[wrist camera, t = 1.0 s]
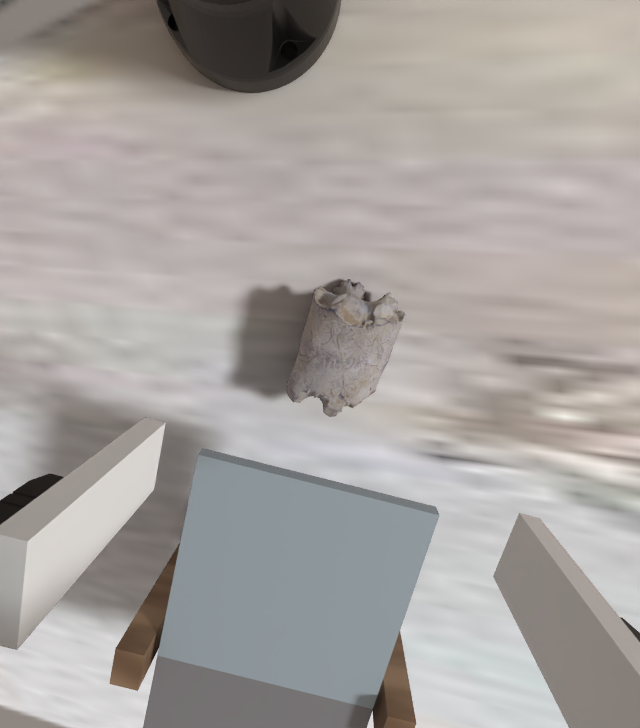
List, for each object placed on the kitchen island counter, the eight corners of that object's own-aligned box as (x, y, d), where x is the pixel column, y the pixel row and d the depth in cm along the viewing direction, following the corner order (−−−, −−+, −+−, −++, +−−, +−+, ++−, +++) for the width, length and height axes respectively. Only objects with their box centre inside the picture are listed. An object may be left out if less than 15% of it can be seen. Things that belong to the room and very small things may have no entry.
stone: (287, 387, 41) (278, 408, 34) (322, 271, 39) (320, 269, 32) (362, 411, 41) (368, 436, 35) (402, 297, 39) (416, 300, 32)
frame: (196, 501, 44) (110, 634, 27) (394, 551, 44) (427, 713, 28) (188, 541, 45) (100, 693, 28) (381, 589, 45) (406, 769, 29)
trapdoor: (216, 432, 30) (197, 454, 26) (426, 485, 30) (439, 515, 26) (162, 689, 35) (140, 740, 31) (344, 734, 35) (344, 790, 31)
